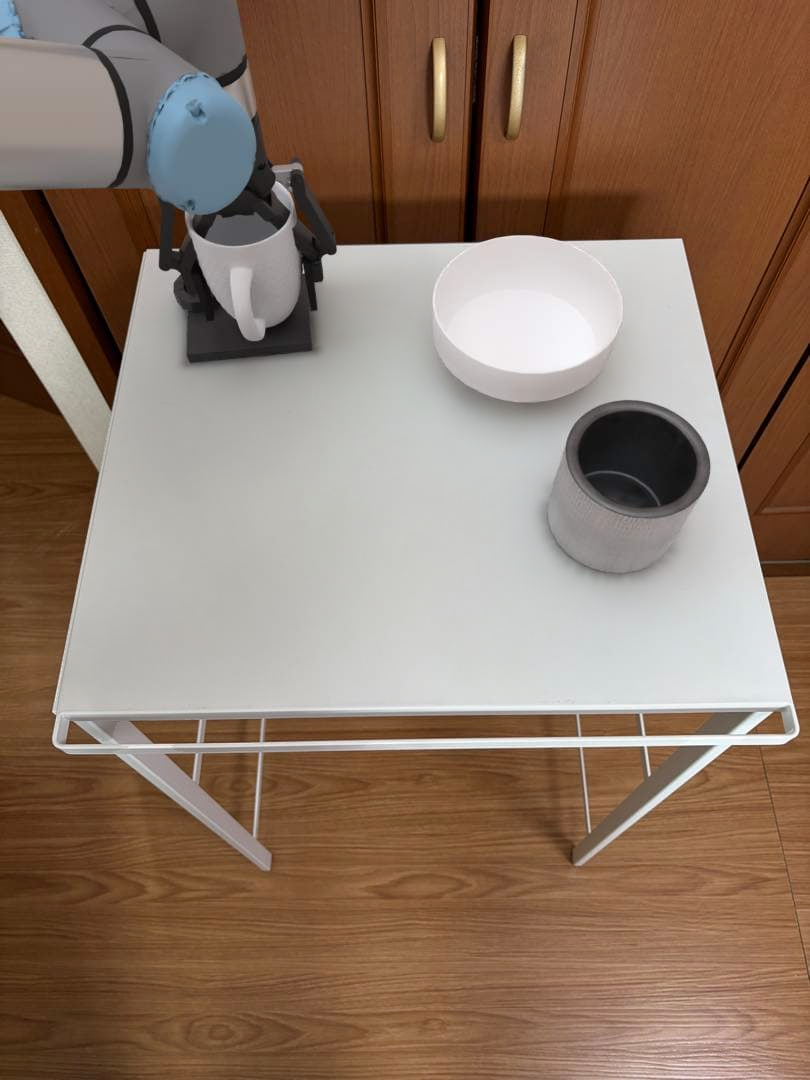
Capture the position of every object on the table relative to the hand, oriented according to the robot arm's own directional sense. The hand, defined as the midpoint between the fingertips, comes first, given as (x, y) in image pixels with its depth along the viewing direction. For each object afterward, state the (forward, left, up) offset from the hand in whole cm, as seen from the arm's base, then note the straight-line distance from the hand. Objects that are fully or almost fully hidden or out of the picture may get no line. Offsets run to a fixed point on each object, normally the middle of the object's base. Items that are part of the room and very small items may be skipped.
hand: (262, 307), depth 84 cm
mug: (0, 0, -1) cm, 1 cm away
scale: (-2, +2, -3) cm, 4 cm away
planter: (+33, -30, -4) cm, 45 cm away
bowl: (+28, -8, -4) cm, 29 cm away
